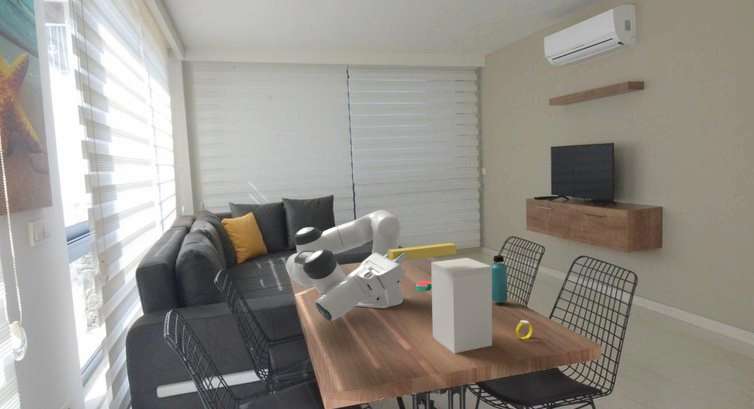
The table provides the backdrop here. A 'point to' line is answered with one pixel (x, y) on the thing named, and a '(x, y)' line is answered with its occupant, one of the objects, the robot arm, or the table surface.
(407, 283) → the table surface
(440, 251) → the mustard bar
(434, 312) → the off-white stand
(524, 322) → the gold ring
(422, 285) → the pink curvy flat shape
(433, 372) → the table surface
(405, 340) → the table surface
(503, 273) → the beverage bottle
